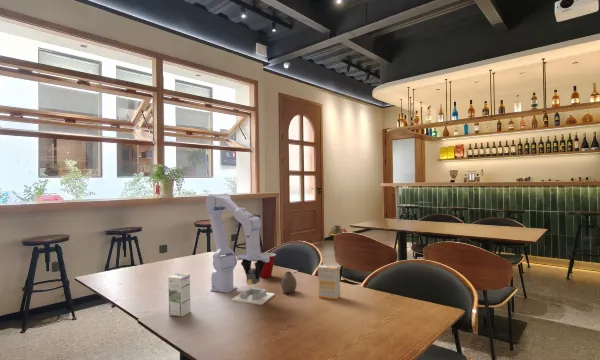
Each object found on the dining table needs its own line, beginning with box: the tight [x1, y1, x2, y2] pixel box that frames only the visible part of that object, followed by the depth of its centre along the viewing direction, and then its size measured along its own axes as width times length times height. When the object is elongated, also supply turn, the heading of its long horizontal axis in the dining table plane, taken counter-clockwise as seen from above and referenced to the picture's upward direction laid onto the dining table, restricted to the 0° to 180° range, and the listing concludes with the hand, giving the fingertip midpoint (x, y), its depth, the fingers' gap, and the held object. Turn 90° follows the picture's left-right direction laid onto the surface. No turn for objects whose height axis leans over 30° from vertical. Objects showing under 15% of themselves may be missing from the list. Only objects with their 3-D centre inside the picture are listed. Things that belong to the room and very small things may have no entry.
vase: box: [280, 271, 297, 294], centre depth 149 cm, size 7×7×9 cm
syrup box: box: [167, 272, 192, 318], centre depth 126 cm, size 6×6×14 cm
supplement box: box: [317, 264, 341, 301], centre depth 141 cm, size 8×5×13 cm, turn 65°
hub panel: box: [231, 287, 276, 306], centre depth 142 cm, size 14×12×3 cm
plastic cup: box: [260, 252, 277, 279], centre depth 174 cm, size 11×11×12 cm
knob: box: [246, 267, 261, 286], centre depth 141 cm, size 6×4×6 cm
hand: (253, 278), depth 142 cm, fingers closed on knob, 4 cm apart
